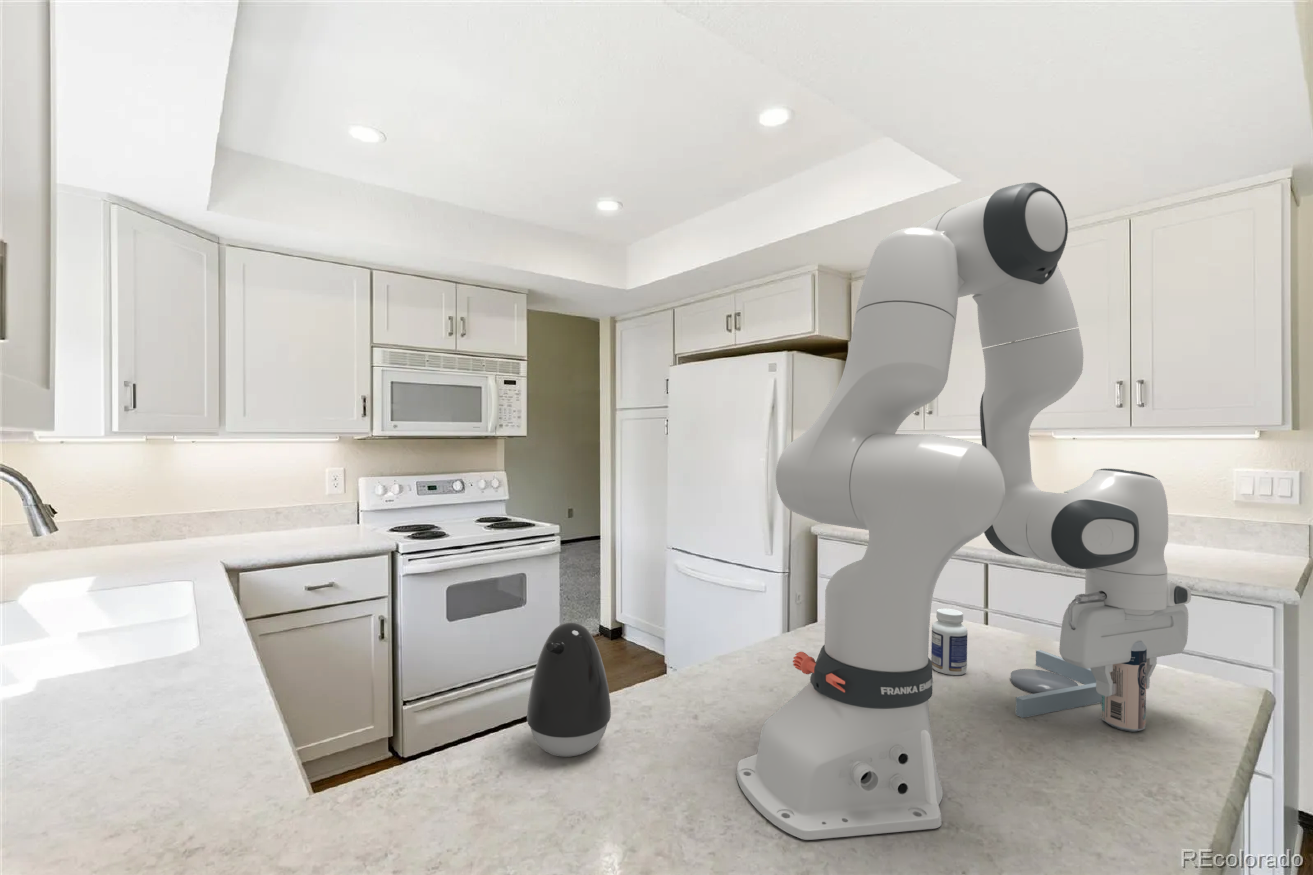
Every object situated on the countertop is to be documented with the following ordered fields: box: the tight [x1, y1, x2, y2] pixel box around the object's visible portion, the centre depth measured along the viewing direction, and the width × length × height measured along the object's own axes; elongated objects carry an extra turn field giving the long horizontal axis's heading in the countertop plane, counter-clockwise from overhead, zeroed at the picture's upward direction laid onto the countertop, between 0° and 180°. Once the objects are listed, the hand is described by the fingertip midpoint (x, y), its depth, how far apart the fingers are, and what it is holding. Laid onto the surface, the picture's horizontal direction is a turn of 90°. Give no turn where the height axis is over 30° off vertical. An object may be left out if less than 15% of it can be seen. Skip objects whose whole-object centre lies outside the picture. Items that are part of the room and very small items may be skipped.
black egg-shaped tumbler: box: [526, 622, 612, 758], centre depth 77 cm, size 10×10×15 cm
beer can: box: [1101, 641, 1147, 733], centre depth 84 cm, size 5×5×12 cm
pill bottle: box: [930, 607, 968, 676], centre depth 103 cm, size 5×5×10 cm
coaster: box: [1010, 668, 1079, 694], centre depth 97 cm, size 9×9×1 cm
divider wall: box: [1015, 649, 1102, 719], centre depth 97 cm, size 24×14×2 cm, turn 110°
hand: (1122, 691), depth 84 cm, fingers open, 5 cm apart
